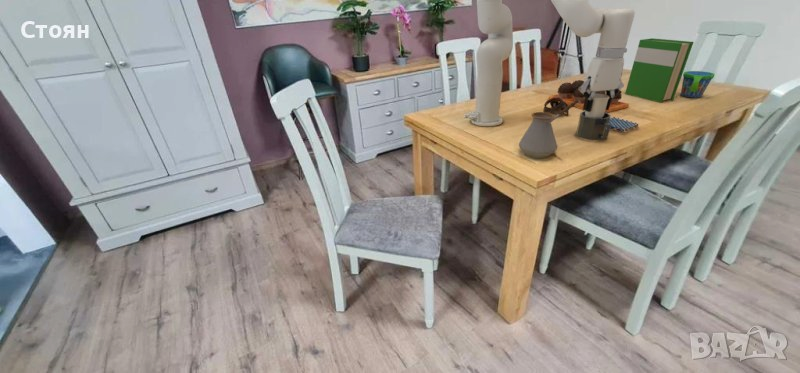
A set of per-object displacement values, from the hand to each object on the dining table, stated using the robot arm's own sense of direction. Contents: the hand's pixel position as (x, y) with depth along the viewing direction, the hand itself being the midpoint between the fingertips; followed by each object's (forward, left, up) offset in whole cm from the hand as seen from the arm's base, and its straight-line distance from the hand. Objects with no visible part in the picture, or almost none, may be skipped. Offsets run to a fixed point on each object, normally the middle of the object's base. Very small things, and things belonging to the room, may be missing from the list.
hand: (595, 109), depth 113 cm
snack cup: (+71, +31, -10) cm, 78 cm away
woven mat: (+14, +5, -10) cm, 18 cm away
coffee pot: (-20, -7, -10) cm, 23 cm away
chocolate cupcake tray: (+23, +36, -10) cm, 44 cm away
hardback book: (+54, +36, -10) cm, 66 cm away
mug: (0, -2, -10) cm, 10 cm away
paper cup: (0, 0, -8) cm, 8 cm away
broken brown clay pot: (+2, +26, -10) cm, 28 cm away
